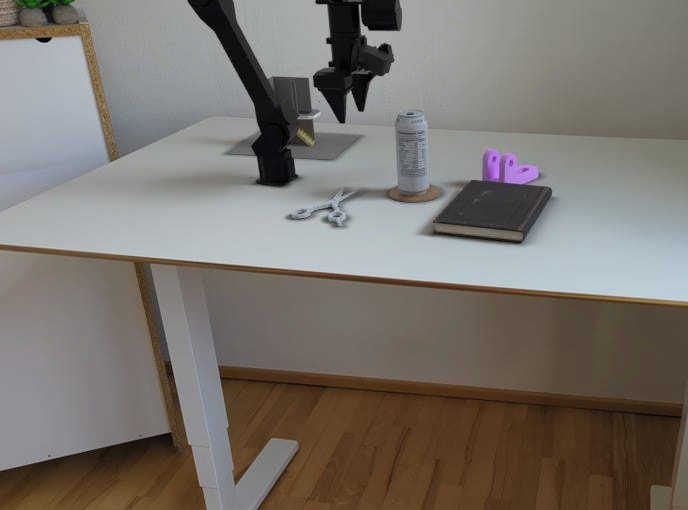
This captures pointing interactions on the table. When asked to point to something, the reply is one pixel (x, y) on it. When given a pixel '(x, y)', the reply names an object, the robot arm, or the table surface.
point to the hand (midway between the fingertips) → (352, 117)
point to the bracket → (506, 168)
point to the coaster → (429, 195)
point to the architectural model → (302, 124)
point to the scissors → (327, 204)
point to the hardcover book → (493, 211)
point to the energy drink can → (412, 152)
